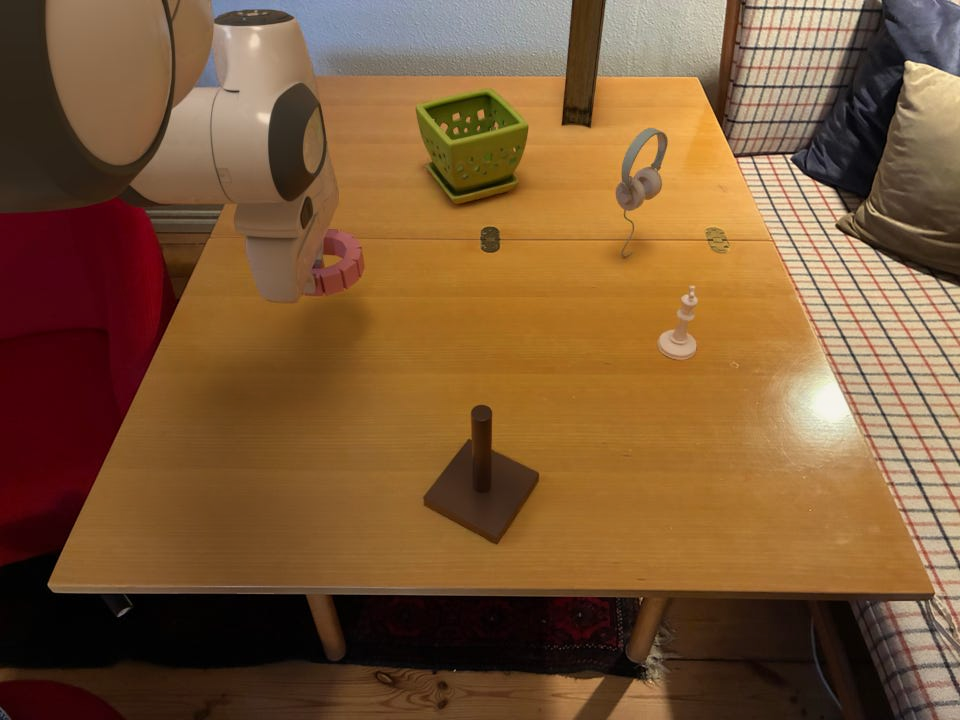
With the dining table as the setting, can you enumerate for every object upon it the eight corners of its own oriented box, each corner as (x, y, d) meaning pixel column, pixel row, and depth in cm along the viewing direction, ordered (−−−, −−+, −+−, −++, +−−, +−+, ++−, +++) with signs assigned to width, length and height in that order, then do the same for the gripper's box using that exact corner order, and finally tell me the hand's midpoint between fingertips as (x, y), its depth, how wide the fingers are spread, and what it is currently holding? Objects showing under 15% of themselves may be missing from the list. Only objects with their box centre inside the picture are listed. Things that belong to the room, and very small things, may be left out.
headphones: (619, 275, 100) (642, 149, 85) (597, 263, 102) (616, 137, 87) (654, 250, 104) (681, 125, 89) (632, 239, 106) (656, 115, 91)
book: (567, 88, 141) (579, -49, 123) (594, 90, 140) (610, -48, 122) (561, 127, 130) (573, -17, 112) (590, 129, 129) (607, -16, 111)
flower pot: (418, 173, 119) (412, 102, 110) (491, 155, 123) (491, 85, 114) (450, 216, 110) (447, 142, 101) (528, 195, 114) (532, 122, 105)
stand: (496, 544, 70) (498, 467, 61) (423, 504, 74) (414, 425, 64) (538, 480, 76) (546, 400, 66) (468, 446, 79) (466, 364, 69)
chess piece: (695, 335, 91) (713, 276, 84) (696, 362, 88) (715, 302, 81) (657, 331, 92) (671, 271, 84) (657, 357, 88) (672, 298, 81)
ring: (354, 298, 82) (351, 279, 80) (273, 294, 82) (267, 275, 80) (370, 248, 88) (367, 230, 86) (295, 245, 89) (290, 226, 87)
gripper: (287, 126, 79) (309, 228, 89) (226, 231, 65) (260, 338, 75) (341, 128, 78) (357, 230, 88) (292, 234, 64) (318, 341, 74)
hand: (313, 280), depth 81 cm, fingers closed on ring, 2 cm apart
